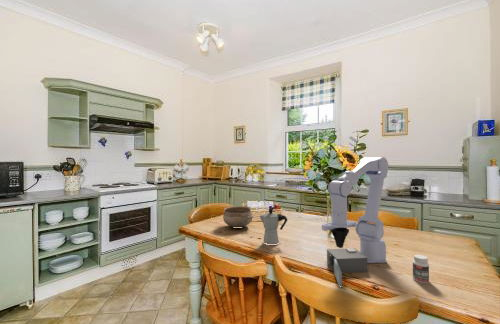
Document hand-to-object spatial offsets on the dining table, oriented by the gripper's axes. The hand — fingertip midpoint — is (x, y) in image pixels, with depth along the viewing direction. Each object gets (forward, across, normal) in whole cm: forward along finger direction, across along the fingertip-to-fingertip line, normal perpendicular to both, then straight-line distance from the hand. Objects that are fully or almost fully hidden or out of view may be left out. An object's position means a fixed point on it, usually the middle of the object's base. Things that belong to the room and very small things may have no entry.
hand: (339, 247), depth 94 cm
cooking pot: (+10, -20, +74) cm, 77 cm away
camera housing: (+9, +5, +2) cm, 11 cm away
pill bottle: (+10, +22, -16) cm, 29 cm away
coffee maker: (+10, -11, +38) cm, 41 cm away
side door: (+9, -6, -6) cm, 12 cm away
